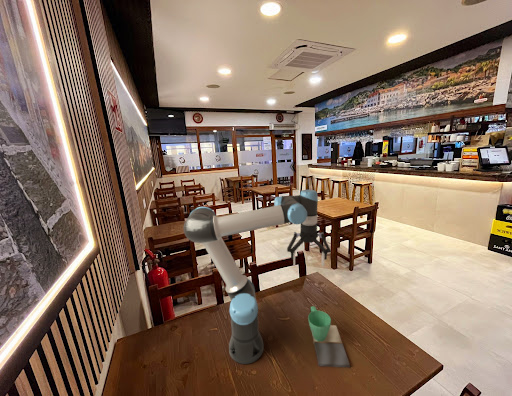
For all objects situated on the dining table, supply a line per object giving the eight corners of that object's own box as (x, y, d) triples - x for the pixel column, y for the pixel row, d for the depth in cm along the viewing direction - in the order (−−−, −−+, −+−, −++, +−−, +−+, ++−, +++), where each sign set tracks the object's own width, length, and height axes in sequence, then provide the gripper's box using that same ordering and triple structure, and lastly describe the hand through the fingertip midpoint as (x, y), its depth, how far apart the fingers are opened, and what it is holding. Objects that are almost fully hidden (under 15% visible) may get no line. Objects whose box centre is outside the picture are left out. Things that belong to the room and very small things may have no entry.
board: (318, 366, 88) (318, 363, 88) (310, 327, 108) (310, 324, 107) (349, 367, 87) (349, 364, 87) (336, 327, 107) (336, 324, 106)
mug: (334, 344, 96) (335, 325, 94) (312, 348, 95) (312, 328, 93) (321, 319, 110) (321, 302, 108) (302, 322, 109) (301, 304, 107)
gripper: (281, 225, 101) (282, 268, 105) (338, 225, 97) (336, 269, 102) (281, 220, 108) (282, 260, 112) (334, 220, 105) (333, 261, 109)
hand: (308, 264), depth 107 cm, fingers open, 13 cm apart
